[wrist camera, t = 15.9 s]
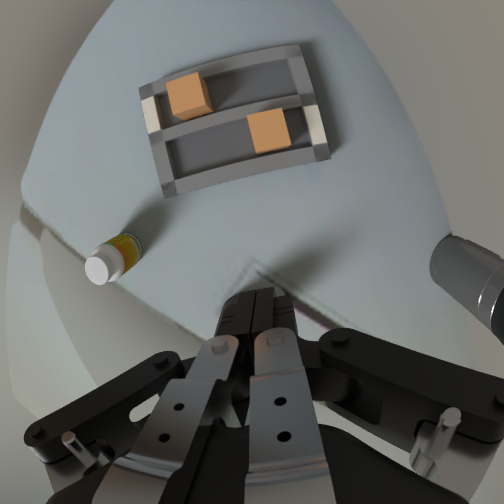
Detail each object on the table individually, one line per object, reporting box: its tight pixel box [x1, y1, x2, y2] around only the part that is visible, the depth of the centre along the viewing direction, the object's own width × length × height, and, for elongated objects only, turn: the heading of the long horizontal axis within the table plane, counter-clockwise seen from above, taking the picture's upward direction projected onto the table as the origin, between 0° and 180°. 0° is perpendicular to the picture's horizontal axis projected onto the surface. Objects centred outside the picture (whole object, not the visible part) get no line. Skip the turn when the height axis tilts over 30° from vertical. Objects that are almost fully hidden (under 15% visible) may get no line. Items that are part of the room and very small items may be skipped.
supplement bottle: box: [85, 233, 142, 285], centre depth 37 cm, size 5×5×10 cm
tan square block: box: [166, 72, 213, 121], centre depth 30 cm, size 4×4×5 cm
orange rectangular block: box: [246, 108, 291, 154], centre depth 31 cm, size 4×4×5 cm
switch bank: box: [139, 44, 331, 199], centre depth 33 cm, size 22×16×4 cm
